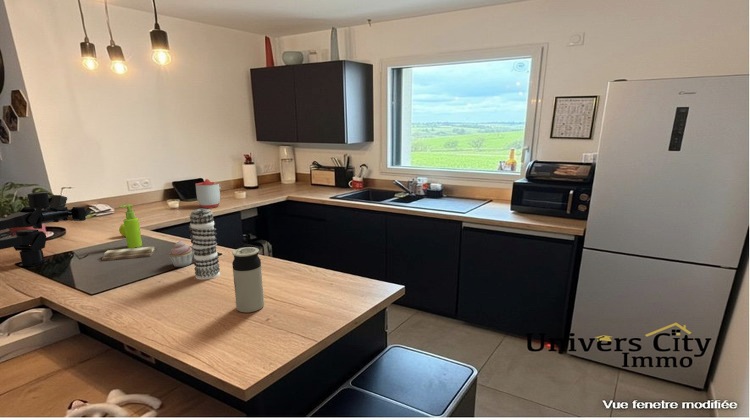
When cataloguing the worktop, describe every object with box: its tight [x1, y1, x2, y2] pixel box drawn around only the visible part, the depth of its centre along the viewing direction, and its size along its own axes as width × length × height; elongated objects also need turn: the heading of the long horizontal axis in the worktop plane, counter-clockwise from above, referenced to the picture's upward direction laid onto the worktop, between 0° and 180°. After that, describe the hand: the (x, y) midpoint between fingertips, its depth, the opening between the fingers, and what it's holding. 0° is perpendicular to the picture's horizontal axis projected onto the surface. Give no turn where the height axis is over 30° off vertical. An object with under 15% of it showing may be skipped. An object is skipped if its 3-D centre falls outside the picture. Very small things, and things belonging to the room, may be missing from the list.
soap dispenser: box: [118, 204, 143, 249], centre depth 175 cm, size 6×7×20 cm
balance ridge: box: [101, 246, 157, 262], centre depth 165 cm, size 18×10×2 cm, turn 107°
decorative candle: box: [188, 208, 221, 281], centre depth 138 cm, size 9×9×25 cm
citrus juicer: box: [194, 178, 222, 209], centre depth 266 cm, size 16×17×20 cm
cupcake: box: [167, 240, 194, 268], centre depth 151 cm, size 9×9×10 cm
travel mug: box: [231, 246, 265, 314], centre depth 113 cm, size 8×8×18 cm
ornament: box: [118, 223, 126, 238], centre depth 194 cm, size 7×7×10 cm
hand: (81, 210), depth 176 cm, fingers open, 9 cm apart
